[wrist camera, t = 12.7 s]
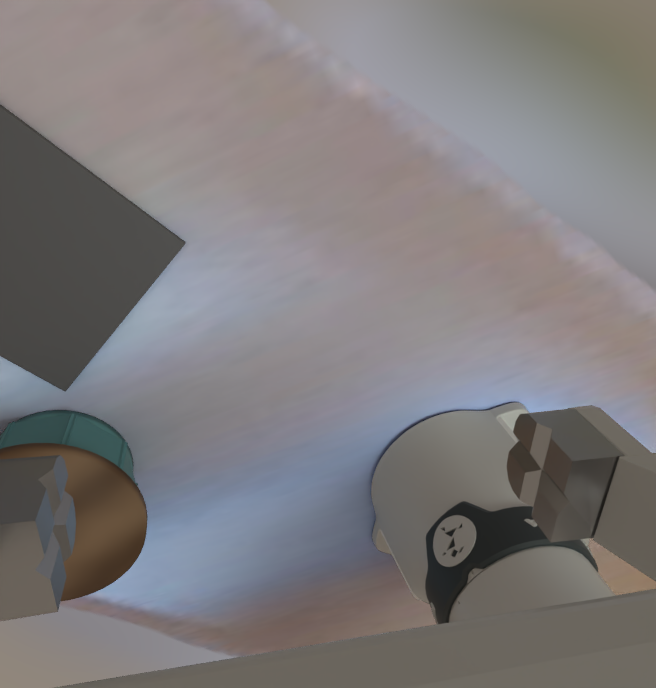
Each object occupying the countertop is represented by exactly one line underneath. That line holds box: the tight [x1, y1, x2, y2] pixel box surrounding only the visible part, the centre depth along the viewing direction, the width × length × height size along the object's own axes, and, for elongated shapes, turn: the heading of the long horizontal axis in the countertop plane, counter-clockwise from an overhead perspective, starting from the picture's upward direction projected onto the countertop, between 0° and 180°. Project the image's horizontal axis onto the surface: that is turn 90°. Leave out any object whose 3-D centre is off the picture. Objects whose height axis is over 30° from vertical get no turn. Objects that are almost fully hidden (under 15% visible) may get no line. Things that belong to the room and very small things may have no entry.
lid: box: [0, 443, 147, 601], centre depth 38 cm, size 13×13×4 cm
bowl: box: [0, 410, 138, 485], centre depth 42 cm, size 10×10×6 cm
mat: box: [0, 105, 185, 391], centre depth 37 cm, size 14×14×1 cm
